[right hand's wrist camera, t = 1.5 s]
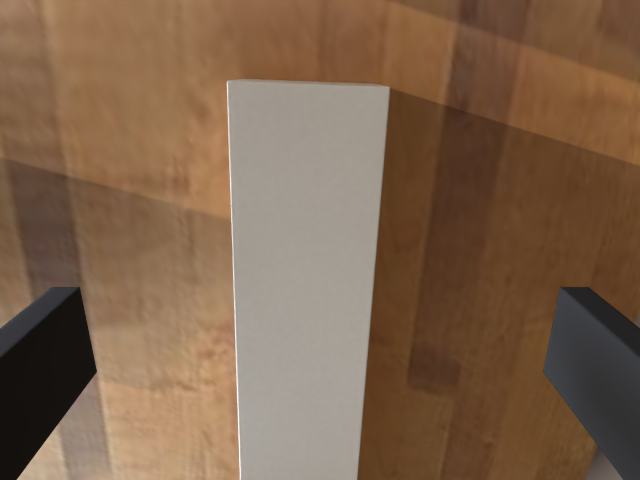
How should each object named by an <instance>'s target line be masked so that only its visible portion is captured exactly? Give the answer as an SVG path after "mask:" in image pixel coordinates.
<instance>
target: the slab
mask: <svg viewBox="0 0 640 480" xmlns="http://www.w3.org/2000/svg"><path fill="white" fill-rule="evenodd" d="M389 98H390V87H389V86H384V85H380V84H369V83H342V82H315V81H288V80H261V79H239V80H229V81H227V102H228V131H229V161H230V190H231V220H232V250H233V279H234V309H235V338H236V368H237V397H238V427H239V456H240V480H357V479H358V467H359V455H360V443H361V431H362V420H363V408H364V396H365V384H366V372H367V360H368V348H369V336H370V324H371V313H372V301H373V289H374V277H375V265H376V253H377V241H378V229H379V217H380V205H381V194H382V182H383V170H384V158H385V146H386V134H387V122H388V110H389Z"/></svg>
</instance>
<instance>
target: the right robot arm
mask: <svg viewBox="0 0 640 480" xmlns="http://www.w3.org/2000/svg"><path fill="white" fill-rule="evenodd" d="M96 372H97V370H96V365H95V360H94V355H93V350H92V345H91V340H90V335H89V330H88V325H87V320H86V315H85V311H84V306H83V301H82V296H81V291H80V287H51V288H50V289H49V290H48V291H46V292H45V293H44V294H43V295H41V296H40V297H39V298H38V299H36V300H35V301H34V302H33V303H31V304H30V305H29V306H28V307H26V308H25V309H24V310H23V311H21V312H20V313H19V314H18V315H16V316H15V317H14V318H13V319H11V320H10V321H9V322H8V323H6V324H5V325H4V326H3V327H1V328H0V480H17V478H18V477H19V476H20V474H21V473H22V472H23V470H24V469H25V468H26V466H27V465H28V464H29V462H30V461H31V460H32V458H33V457H34V456H35V454H36V453H37V452H38V450H39V449H40V448H41V446H42V445H43V443H44V442H45V441H46V439H47V438H48V437H49V435H50V434H51V433H52V431H53V430H54V429H55V427H56V426H57V425H58V423H59V422H60V421H61V419H62V418H63V417H64V415H65V414H66V413H67V411H68V410H69V409H70V407H71V406H72V405H73V403H74V402H75V401H76V399H77V398H78V396H79V395H80V394H81V392H82V391H83V390H84V388H85V387H86V386H87V384H88V383H89V382H90V380H91V379H92V378H93V376H94V375H95V374H96ZM543 372H544V374H545V375H546V376H547V378H548V379H549V380H550V382H551V383H552V384H553V386H554V387H555V388H556V390H557V391H558V392H559V394H560V395H561V396H562V398H563V399H564V401H565V402H566V403H567V405H568V406H569V407H570V409H571V410H572V411H573V413H574V414H575V415H576V417H577V418H578V419H579V421H580V422H581V423H582V425H583V426H584V427H585V429H586V430H587V431H588V433H589V434H590V435H591V437H592V438H593V439H594V441H595V442H596V443H597V445H598V446H599V448H600V449H601V450H602V452H603V453H604V454H605V456H606V457H607V458H608V460H609V461H610V462H611V464H612V465H613V466H614V468H615V469H616V470H617V472H618V473H619V474H620V476H621V477H622V478H623V480H640V328H639V327H637V326H636V325H635V324H634V323H632V322H631V321H630V320H629V319H627V318H626V317H625V316H624V315H622V314H621V313H620V312H619V311H617V310H616V309H615V308H614V307H612V306H611V305H610V304H609V303H607V302H606V301H605V300H604V299H602V298H601V297H600V296H599V295H597V294H596V293H595V292H594V291H592V290H591V289H590V288H589V287H560V291H559V296H558V301H557V306H556V311H555V315H554V320H553V325H552V330H551V335H550V340H549V345H548V350H547V355H546V360H545V365H544V370H543Z"/></svg>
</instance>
